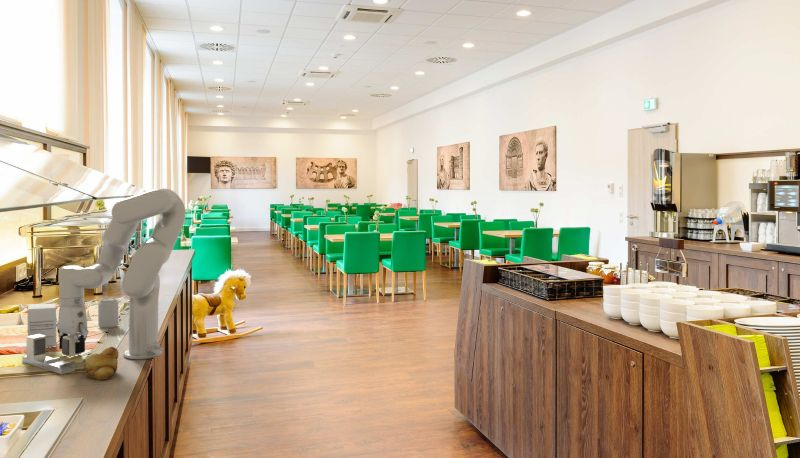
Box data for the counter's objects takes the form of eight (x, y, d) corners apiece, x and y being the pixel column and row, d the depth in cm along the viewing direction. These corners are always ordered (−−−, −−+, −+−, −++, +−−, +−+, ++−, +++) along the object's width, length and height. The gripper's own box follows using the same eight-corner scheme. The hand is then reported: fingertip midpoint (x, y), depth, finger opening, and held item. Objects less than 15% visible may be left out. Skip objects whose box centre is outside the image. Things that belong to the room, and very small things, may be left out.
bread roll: (117, 380, 180) (117, 355, 180) (81, 384, 177) (81, 358, 176) (118, 368, 192) (118, 344, 192) (85, 371, 188) (85, 346, 188)
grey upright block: (94, 327, 242) (94, 299, 242) (109, 324, 249) (109, 296, 248) (107, 330, 240) (107, 301, 239) (122, 326, 247) (122, 298, 246)
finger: (74, 353, 206) (74, 334, 206) (81, 355, 204) (81, 336, 204) (61, 356, 202) (61, 336, 202) (68, 358, 200) (68, 338, 200)
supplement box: (28, 344, 216) (27, 304, 215) (56, 341, 220) (56, 302, 219) (27, 350, 208) (26, 309, 207) (56, 347, 212) (56, 307, 211)
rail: (75, 370, 188) (75, 343, 187) (61, 374, 184) (61, 346, 184) (36, 358, 199) (36, 332, 198) (22, 362, 195) (22, 335, 194)
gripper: (97, 303, 201) (97, 352, 202) (67, 296, 210) (67, 344, 211) (76, 306, 195) (76, 357, 196) (46, 300, 203) (46, 348, 204)
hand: (72, 350), depth 203 cm, fingers open, 8 cm apart
